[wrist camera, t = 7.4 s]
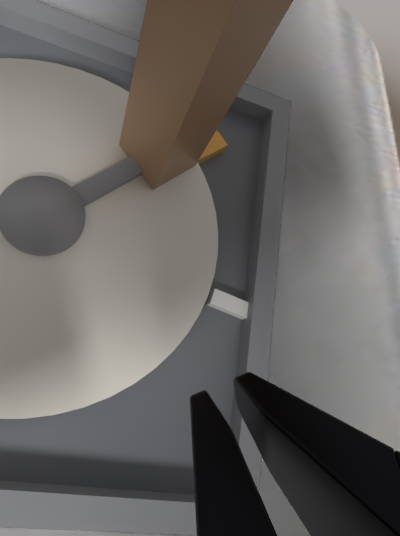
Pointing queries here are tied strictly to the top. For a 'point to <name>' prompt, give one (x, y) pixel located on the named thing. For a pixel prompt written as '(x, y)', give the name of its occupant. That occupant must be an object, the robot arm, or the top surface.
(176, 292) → the dial
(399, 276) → the top surface
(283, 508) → the top surface
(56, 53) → the dial board
